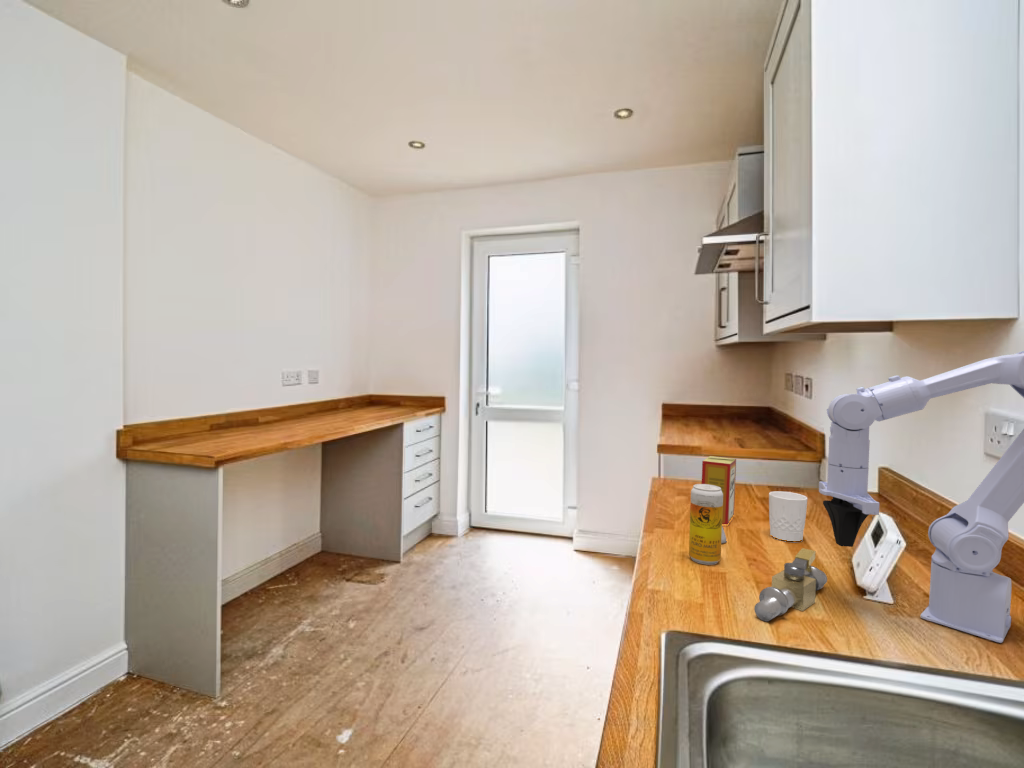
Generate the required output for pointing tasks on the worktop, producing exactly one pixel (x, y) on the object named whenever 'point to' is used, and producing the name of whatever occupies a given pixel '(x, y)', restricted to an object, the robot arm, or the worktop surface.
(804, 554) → the lever
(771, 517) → the white cup
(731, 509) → the baking soda box
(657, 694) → the worktop surface
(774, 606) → the valve body
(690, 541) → the beer can
